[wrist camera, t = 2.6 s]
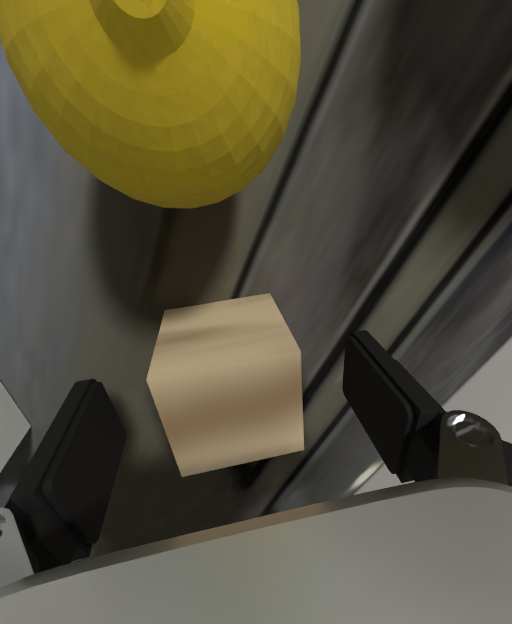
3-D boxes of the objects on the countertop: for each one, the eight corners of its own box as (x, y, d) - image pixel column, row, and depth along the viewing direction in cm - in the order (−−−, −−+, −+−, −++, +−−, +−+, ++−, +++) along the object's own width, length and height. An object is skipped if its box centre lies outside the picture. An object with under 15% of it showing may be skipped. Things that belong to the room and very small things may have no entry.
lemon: (96, 174, 10) (-130, 189, 3) (97, -35, 8) (-582, -1325, 1) (242, 209, 12) (301, 272, 5) (278, 39, 10) (492, -326, 2)
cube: (276, 373, 16) (304, 449, 12) (187, 390, 16) (181, 476, 11) (269, 292, 14) (300, 351, 9) (165, 309, 13) (146, 379, 9)
